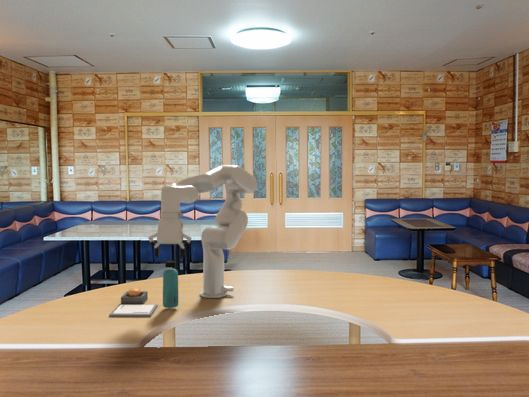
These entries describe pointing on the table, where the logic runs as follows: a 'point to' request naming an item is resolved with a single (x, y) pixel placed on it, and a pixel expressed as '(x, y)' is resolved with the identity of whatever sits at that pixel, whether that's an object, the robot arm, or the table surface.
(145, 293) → the button housing
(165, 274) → the beverage bottle
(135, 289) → the button
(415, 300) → the table surface
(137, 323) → the table surface
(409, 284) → the table surface
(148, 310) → the drawing board
